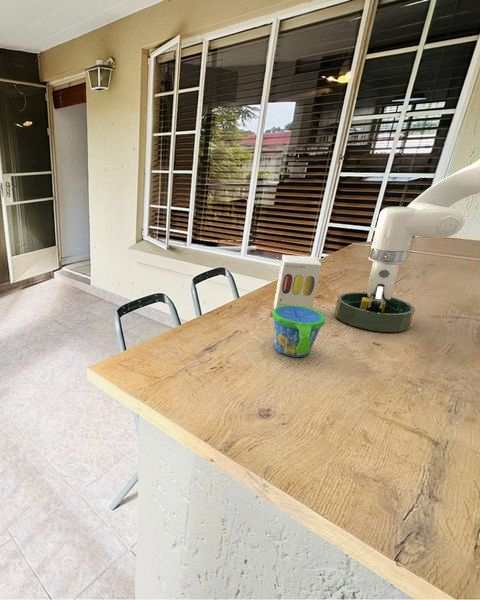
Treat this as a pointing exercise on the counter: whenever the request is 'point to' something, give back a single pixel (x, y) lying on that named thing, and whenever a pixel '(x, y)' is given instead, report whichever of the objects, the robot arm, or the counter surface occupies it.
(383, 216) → the robot arm
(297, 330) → the snack cup
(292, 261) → the supplement box
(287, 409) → the counter surface
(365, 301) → the sponge
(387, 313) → the basin
